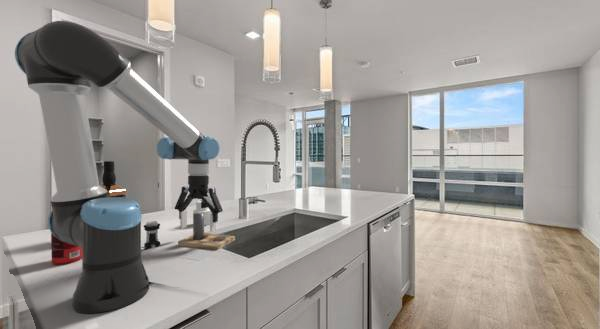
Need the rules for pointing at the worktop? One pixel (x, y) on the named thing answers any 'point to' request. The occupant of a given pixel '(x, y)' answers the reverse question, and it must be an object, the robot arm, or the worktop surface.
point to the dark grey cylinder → (198, 226)
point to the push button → (151, 235)
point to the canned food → (64, 252)
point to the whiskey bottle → (111, 181)
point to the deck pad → (196, 254)
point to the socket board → (207, 241)
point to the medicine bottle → (203, 211)
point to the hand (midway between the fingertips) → (198, 229)
